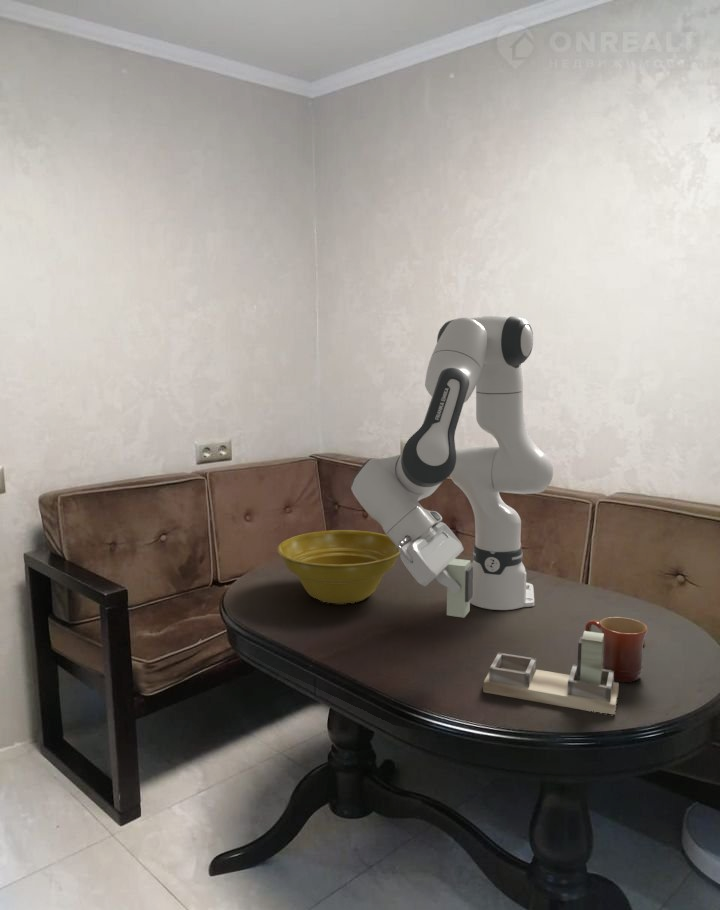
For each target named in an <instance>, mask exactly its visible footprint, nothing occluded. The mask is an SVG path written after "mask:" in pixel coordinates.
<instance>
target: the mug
mask: <svg viewBox="0 0 720 910" xmlns="http://www.w3.org/2000/svg"><path fill="white" fill-rule="evenodd" d="M592 626H595V627H597V628H598V629H599V630H600V633H601V632H602V633H603V634H604V644H603V666H602V669H606V670H612V671H614V682H619V681H620V682H619V683H631V682H632V681H633V682H635V681H636V680H639V679H640V677H641V674H642V670H643V660H644V659H643V654H644V653H643V649H644V648H643V646H644V645H643V642H644V640H645V638H646V636H647V633H648V630H649V628H648V626H647V624H645V623H644V622H642V621H640V620H638V619H634V618H629V617H624V616H623V617H622V616H612V617H611V616H610V617H605V618H603V619H601V620H597V619H592V620H589V621H588V622H587V623H586V624H585V627H584V631H589V632H592ZM633 682H632V683H633Z"/></svg>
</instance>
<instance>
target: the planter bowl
mask: <svg viewBox="0 0 720 910" xmlns="http://www.w3.org/2000/svg"><path fill="white" fill-rule="evenodd" d="M276 551H277V553H278V555H280V557H282V559H283V561H284V564H285V566H286V567H287V569H288V570H289V571H290V572H292V573H293V574H294V575H296V576H297V578H298V579H299V581H300V583H301V585H302V586H303V588H304V590H305V591H306V593H308V595H309V596H310V597H312V598H313V599H315V598H316V599H319V600H322V601H325V602H330V603H342V604H341V605H347V604H346V603H351V604H355V602H356V603H358V602H361V601H364V600H366V599H367V598H369V597H370V596H371V595H372V594H373V593H374V592H375V591H376V589H377V587H378V586H379V584H380V583H381V582H382V581H381V580H383V579H382V578H383V576H384V575H385V574H386V573H387V572H389V571H390V570H392V568H393V567H394V565H395V564H396V562H397V559H398V557H399V556H400V552H399V548H398V547H397V546H396V545H395V544H394V543H393V542H392V541H391V539H390V538H389V537H388V536H387V535H386V534H385V533H384V534H383V533H378V532H373V531H365V530H356V529H354V530H353V529H351V530H350V529H348V530H346V529H337V530H333V529H331V530H322V531H314V532H313V531H312V532H307V533H303V534H299V535H295V536H292V537H290V538H287V539H285V540H284V541H282V542H280V543H279V544H278V545H277V547H276ZM316 599H315V600H316ZM344 603H345V604H344Z"/></svg>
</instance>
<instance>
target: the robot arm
mask: <svg viewBox="0 0 720 910" xmlns="http://www.w3.org/2000/svg"><path fill="white" fill-rule="evenodd" d="M437 333H438V334H437V337H436V338H437V339H436V345H435V347H434V349H433V352H432V353H431V356H430V360H429V362H428V364H427V365H428V367H427V369H426V370H427V371H426V375H425V381H424V386H425V389H426V391H427V393H428V394H429V395H430V397H431V399H430V402H429V405H428V407H427V411H426V414H425V417H424V419H423V423H422V425H421V426H420V427H419V428H418V430H417V431H415V433H413V434H412V435H411V436H410V437H409V439H408V440H407V441H406V442H405V444H404V447H403V450H402V453H400V454H397V455H394V456H390V457H382V458H376V457H372V458H369V459H368V460H366V461H365V462H364V463H363V464H362V465H361V466H360V467H359V469H358V470H357V471H356V473H355V474H354V476H353V478H352V481H351V483H350V489H351V492H352V493H353V495H354V497H355V498H356V500H357V501H358V503H359V505H361V507H362V508H363V509H364V511H365V512H366V513H367V514H368V515H369V516H370V518H371V519H372V520H374V521H376V522H377V523H378V524H379V525H380V526H381V528H382V530H383V531H384V535H387V536H388V537H389V538H390V539H391V541H392V542H393V543H394V544H395V545H396V546H397V547H398V548H399V552H400V554H399V556H400V557H399V558H400V560H401V561H402V563H403V565H404V567H405V568H406V569H407V570H408V571H409V573H410V574H411V575H412V577H413V578H414V579H415V581H416V582H417V583H418V584H419V585H421V586H423V587H426V586H428V585H429V584H430V583H431V582H432V581H433V580H434V579H436V581H437V582H438V583H439V584H441V585H442V586H444V587H445V588H447V587H448V588H449V590H450V591H451V592H452V593H456V592H457V591H459V590H460V588H461V584H460V583H459V582H458V581H457V580H454V579H453V578H451V577H450V576H449V575H448V572H447V569H446V568H447V566H448V564H449V563H450V562H451V561H452V560H453V559H457V558H458V556H460V555H461V554H462V552H464V551H465V550H464V547H463V544H462V542H461V541H460V540H459V538H458V537H457V535H456V534H455V533H454V532H453V530H452V529H450V527H449V526H448V525H447V524H446V523H445V522H443V517H442V515H441V514H440V513H439V512H438V511H436V510H428V509H425V508H424V507H423V506H422V505H421V503H419V502H420V501H421V500H423V499H427V498H428V497H431V495H432V494H434V492H436V490H437V489H439V487H440V485H442V483H443V482H444V481H446V480H447V479H448V478H449V477H450V479H451V480H452V483H454V485H456V486H457V487H458V488H459V489H460V490H461V491H462V492H463V494H464V496H466V498H467V499H468V501H469V503H470V506H471V508H472V512H473V516H474V526H475V527H474V529H475V531H474V532H475V536H474V537H475V540H474V541H475V543H474V544H473V550H472V554H473V555H472V557H473V558H472V559H473V561H472V562H471V566H473V597H472V598H471V599H470V605H473V606H476V607H478V608H482V609H487V610H493V611H494V610H496V611H509V610H516V609H520V608H530V607H535V591H534V585H533V584H532V583H530V582H527V571H526V567H525V565H524V563H523V556H524V555H523V547H522V542H521V539H522V538H521V536H522V535H521V533H522V531H521V530H522V520H521V517H520V515H519V513H518V512H517V511H516V510H515V509H514V508H513V507H511V506H510V505H507V503H505V502H504V501H503V499H502V497H501V495H500V493H507V494H518V495H528V494H529V495H531V494H538V493H540V494H541V493H543V492H545V490H546V489H547V488H548V487H549V486H550V484H551V482H552V480H553V477H554V476H553V475H554V468H553V463H552V461H551V459H550V457H549V456H548V455H547V454H546V452H543V451H542V450H541V449H540V448H539V447H538V446H537V445H536V444H535V442H534V441H533V440H532V438H531V436H530V434H529V432H528V430H527V427H526V424H525V423H526V422H525V417H524V416H525V415H524V402H523V401H524V400H523V399H524V395H523V394H524V393H523V392H524V387H523V386H524V385H523V384H524V383H523V371H522V364H523V363H525V362H526V361H527V359H528V358H530V356H531V354H532V350H533V346H534V333H533V329H532V327H531V324H530V323H529V322H528V320H527V319H525V318H522V317H517V316H511V315H510V316H509V317H507V316H496V315H495V316H493V315H488V316H487V315H484V316H480V317H458V318H455V319H451V320H448V321H446V322H445V323H444V324H443V325H442V326H441V328H440V329H439V330H438V332H437ZM474 390H475V412H476V413H475V415H476V417H475V420H476V422H477V424H478V426H479V427H480V428H481V429H482V430H483V431H484V432H486V433H488V434H490V435H491V436H492V437H493V438H494V439H495V440H496V442H497V445H498V446H485V445H472V446H464V447H459V448H457V449H456V442H455V435H456V430H457V427H458V425H459V424H458V423H459V421H460V416H461V413H462V410H463V406H464V403H466V402H467V401H468V400H469V399H470V398H471V396H472V394H473V393H474Z"/></svg>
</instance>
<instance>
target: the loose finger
mask: <svg viewBox="0 0 720 910" xmlns="http://www.w3.org/2000/svg"><path fill="white" fill-rule="evenodd" d="M471 563H472V562H471V560H468V559H460V558H456V559H453V560H452V561H451V562H450V563H449V564H448V566H447V567H446V568H447V569H446V571H447V572H448V575H449V576H450V577H451V578H453V579H454V580H457V581H458V582H459V583H460V584H461V588H460V590H459V591H457V592H456V593H452V592H451V591H450V590H449V588H448V587H446V616H451V617H455V618H456V617H458V618H466V616H467V615H468V614H469V612H470V611H471V609H470V607H471V603H470V599H471V598H472V597H473V566H471Z"/></svg>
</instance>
